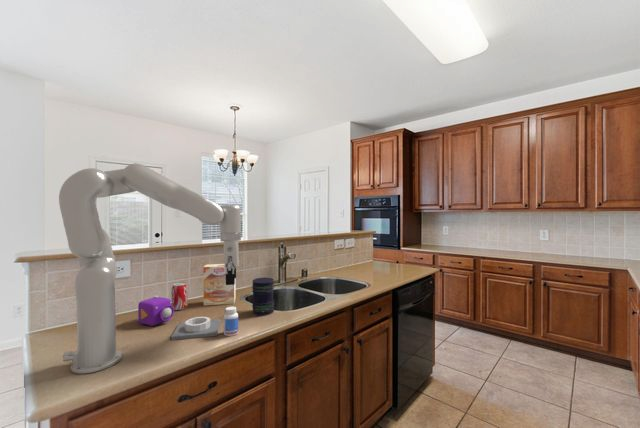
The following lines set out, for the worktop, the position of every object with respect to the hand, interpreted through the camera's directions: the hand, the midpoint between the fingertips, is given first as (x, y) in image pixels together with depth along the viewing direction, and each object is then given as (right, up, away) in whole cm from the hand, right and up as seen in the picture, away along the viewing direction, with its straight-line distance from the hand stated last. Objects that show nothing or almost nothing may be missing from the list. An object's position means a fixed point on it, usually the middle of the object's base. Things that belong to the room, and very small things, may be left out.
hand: (231, 281), depth 112 cm
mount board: (-14, -20, +3) cm, 25 cm away
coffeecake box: (-17, -20, +37) cm, 46 cm away
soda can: (-33, -20, +28) cm, 48 cm away
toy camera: (-35, -20, +11) cm, 42 cm away
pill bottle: (0, -20, 0) cm, 20 cm away
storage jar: (+8, -20, +24) cm, 32 cm away
